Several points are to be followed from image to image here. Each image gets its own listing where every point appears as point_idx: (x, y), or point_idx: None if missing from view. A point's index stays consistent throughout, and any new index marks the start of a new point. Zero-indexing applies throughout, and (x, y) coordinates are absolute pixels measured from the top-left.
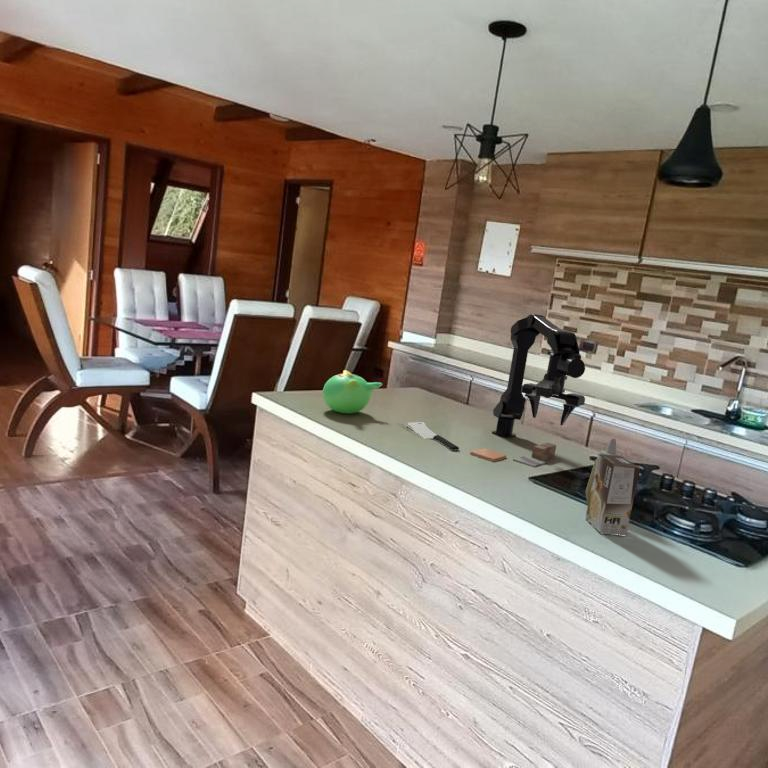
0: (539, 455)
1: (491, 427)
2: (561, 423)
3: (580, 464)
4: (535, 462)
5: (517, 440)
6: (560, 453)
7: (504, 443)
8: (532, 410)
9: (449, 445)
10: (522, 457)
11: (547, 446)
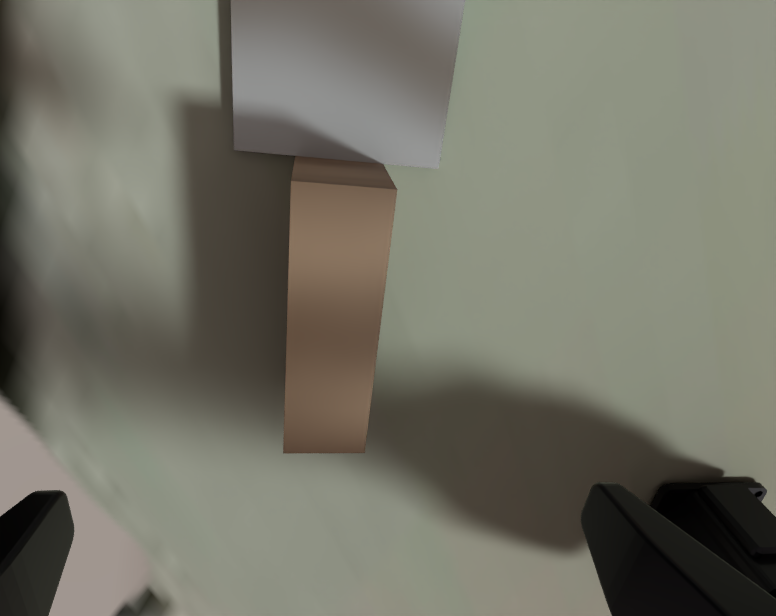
0: (311, 166)
1: None
2: (17, 510)
3: (78, 400)
4: (282, 9)
5: None
6: (303, 499)
7: (655, 359)
8: (730, 575)
9: None
10: (436, 66)
11: (308, 338)
